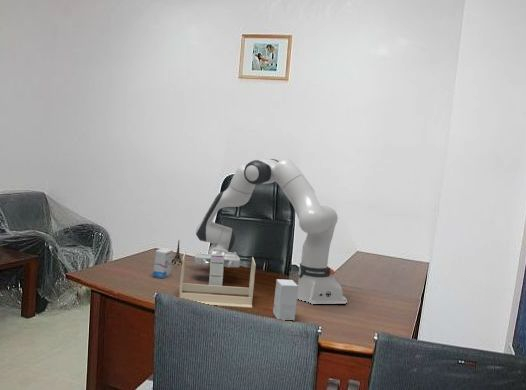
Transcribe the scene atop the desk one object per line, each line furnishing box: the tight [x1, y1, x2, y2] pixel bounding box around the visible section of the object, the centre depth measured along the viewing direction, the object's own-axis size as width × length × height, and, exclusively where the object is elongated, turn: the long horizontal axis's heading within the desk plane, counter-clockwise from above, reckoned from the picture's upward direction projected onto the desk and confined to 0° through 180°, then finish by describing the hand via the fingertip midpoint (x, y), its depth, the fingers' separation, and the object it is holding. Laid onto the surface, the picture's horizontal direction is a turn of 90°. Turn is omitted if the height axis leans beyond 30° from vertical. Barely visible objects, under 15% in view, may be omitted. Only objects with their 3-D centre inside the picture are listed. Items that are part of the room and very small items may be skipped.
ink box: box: [153, 247, 174, 279], centre depth 209 cm, size 8×5×12 cm, turn 168°
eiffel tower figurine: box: [172, 240, 182, 268], centre depth 233 cm, size 15×10×13 cm
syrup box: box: [208, 251, 225, 286], centre depth 202 cm, size 6×6×14 cm
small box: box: [272, 278, 298, 322], centre depth 172 cm, size 8×6×13 cm
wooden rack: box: [178, 251, 257, 309], centre depth 186 cm, size 28×19×16 cm
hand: (217, 264), depth 202 cm, fingers open, 8 cm apart
